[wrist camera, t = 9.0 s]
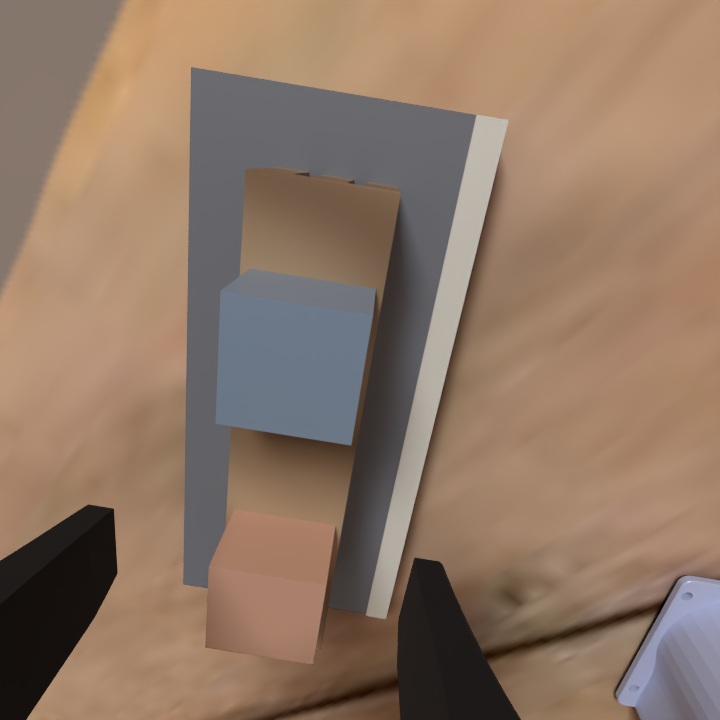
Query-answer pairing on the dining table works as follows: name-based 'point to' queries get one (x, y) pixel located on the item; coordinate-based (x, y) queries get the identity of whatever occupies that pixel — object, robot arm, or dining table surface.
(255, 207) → the brown notched bar
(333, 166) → the dock
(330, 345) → the blue-grey square block
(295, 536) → the pink square block
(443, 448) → the dining table surface
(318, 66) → the dining table surface
